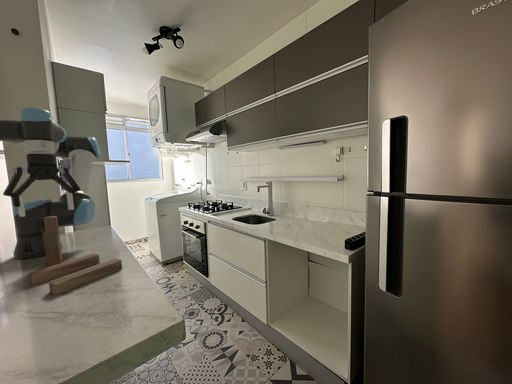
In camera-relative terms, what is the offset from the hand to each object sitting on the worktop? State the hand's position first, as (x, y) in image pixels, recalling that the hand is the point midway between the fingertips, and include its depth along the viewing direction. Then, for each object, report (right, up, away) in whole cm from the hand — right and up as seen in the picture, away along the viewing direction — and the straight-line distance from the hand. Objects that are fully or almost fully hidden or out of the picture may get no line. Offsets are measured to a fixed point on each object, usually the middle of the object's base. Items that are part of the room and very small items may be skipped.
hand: (48, 212), depth 79 cm
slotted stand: (+17, -20, -7) cm, 27 cm away
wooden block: (+1, -20, +2) cm, 20 cm away
